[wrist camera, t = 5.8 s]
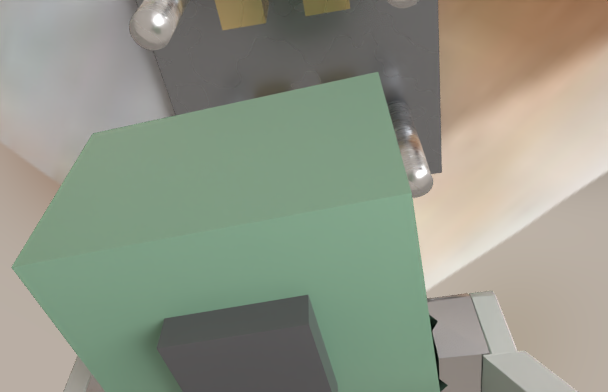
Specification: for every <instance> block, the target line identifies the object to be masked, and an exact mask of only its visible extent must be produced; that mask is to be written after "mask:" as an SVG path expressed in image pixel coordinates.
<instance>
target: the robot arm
mask: <svg viewBox="0 0 608 392" xmlns="http://www.w3.org/2000/svg"><path fill="white" fill-rule="evenodd" d="M427 303H428V310H429V317H430V324H431V331H432V338H433V345H434V352H435V359H436V366H437V373H438V380H439V387H440V392H578V391H577V390H575V389H574V388H573V387H571V386H570V385H569V384H568V383H566V382H565V381H564V380H562V379H561V378H560V377H558V376H557V375H556V374H555V373H553V372H552V371H551V370H549V369H548V368H547V367H545V366H544V365H543V364H542V363H540V362H539V361H537V360H536V359H535V358H534V357H532V356H531V355H530V354H528V353H527V352H526V351H517V348H516V346H515V343H514V340H513V338H512V336H511V333H510V330H509V328H508V325H507V323H506V320H505V317H504V315H503V312H502V310H501V307H500V305H499V302H498V299H497V297H496V294H495V293H494V292H493V291H485V292H477V293H469V294H467V293H466V294H458V295H451V296H443V297H435V298H427ZM64 392H105V391H104V389H103V388H102V387H101V385H100V384H99V383H98V382H97V380H96V379H95V378H94V376H93V375H92V374H91V372H90V371H89V370H88V368H87V367H86V366H85V364H84V363H83V362H82V360H81V359H80V358H79V356H77V359H76V361H75V364H74V366H73V369H72V371H71V374H70V376H69V379H68V382H67V384H66V387H65V389H64Z"/></svg>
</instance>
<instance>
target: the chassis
mask: <svg viewBox="0 0 608 392" xmlns="http://www.w3.org/2000/svg"><path fill="white" fill-rule="evenodd" d="M136 3H137V5H138V10H137V11H136V12H135V14H134V15H133V17H132V18H131V20H130V24H129V30H130V34H131V36H132V38H133V39H134V41H135V42H136V43H137V44H138V45H139V46H141V47H143V48H145V49H148V50H153V51H154V54H155V57H156V60H157V63H158V66H159V68H160V71H161V74H162V77H163V80H164V83H165V86H166V88H167V91H168V94H169V97H170V100H171V103H172V106H173V108H174V111H175V114H176V115H180V114H185V113H190V112H194V111H199V110H204V109H208V108H213V107H217V106H222V105H227V104H231V103H236V102H241V101H245V100H250V99H254V98H259V97H264V96H268V95H273V94H278V93H282V92H287V91H291V90H296V89H301V88H305V87H310V86H314V85H319V84H324V83H328V82H333V81H338V80H342V79H347V78H351V77H356V76H361V75H365V74H370V73H375V72H378V73H379V77H380V80H381V84H382V88H383V91H384V95H385V98H386V102H387V106H388V109H389V113H390V117H391V120H392V124H393V127H394V131H395V135H396V138H397V142H398V145H399V149H400V153H401V156H402V160H403V164H404V167H405V171H406V174H407V178H408V182H409V185H410V189H411V192H412V197H420V196H423V195H425V194H426V193H428V192H429V191H430V189H431V188H432V185H433V179H432V176H431V174H434V173H441V172H442V165H441V119H440V74H439V28H438V0H136Z"/></svg>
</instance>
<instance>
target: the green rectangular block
mask: <svg viewBox="0 0 608 392" xmlns="http://www.w3.org/2000/svg"><path fill="white" fill-rule="evenodd" d="M12 269H13V270H14V271H15V273H16V274H17V275H18V277H19V278H20V279H21V281H22V282H23V283H24V285H25V286H26V287H27V289H28V290H29V291H30V293H31V294H32V295H33V297H34V298H35V299H36V301H37V302H38V303H39V305H40V306H41V307H42V308H43V310H44V311H45V313H46V314H47V315H48V316H49V318H50V319H51V320H52V322H53V323H54V324H55V326H56V327H57V328H58V330H59V331H60V332H61V334H62V335H63V336H64V338H65V339H66V340H67V342H68V343H69V344H70V346H71V347H72V348H73V350H74V351H75V352H76V354H77V355H78V356H79V358H80V359H81V360H82V362H83V363H84V364H85V366H86V367H87V368H88V370H89V371H90V372H91V374H92V375H93V376H94V378H95V379H96V380H97V382H98V383H99V384H100V385H101V387H102V388H103V389H104V391H105V392H440V387H439V380H438V373H437V366H436V359H435V352H434V345H433V338H432V331H431V324H430V317H429V310H428V303H427V297H426V290H425V283H424V276H423V269H422V262H421V255H420V248H419V241H418V234H417V227H416V220H415V213H414V206H413V199H412V192H411V189H410V185H409V182H408V178H407V174H406V171H405V167H404V164H403V160H402V156H401V153H400V149H399V145H398V142H397V138H396V135H395V131H394V127H393V124H392V120H391V117H390V113H389V109H388V106H387V102H386V98H385V95H384V91H383V88H382V84H381V80H380V77H379V73H378V72H375V73H370V74H365V75H361V76H356V77H351V78H347V79H342V80H338V81H333V82H328V83H324V84H319V85H314V86H310V87H305V88H301V89H296V90H291V91H287V92H282V93H278V94H273V95H268V96H264V97H259V98H254V99H250V100H245V101H241V102H236V103H231V104H227V105H222V106H217V107H213V108H208V109H204V110H199V111H194V112H190V113H185V114H180V115H176V116H171V117H167V118H162V119H157V120H153V121H148V122H144V123H139V124H134V125H130V126H125V127H120V128H116V129H111V130H107V131H102V132H97V133H93V134H92V135H91V137H90V139H89V140H88V142H87V144H86V145H85V147H84V149H83V150H82V152H81V154H80V155H79V157H78V159H77V160H76V162H75V163H74V165H73V167H72V168H71V170H70V172H69V173H68V175H67V177H66V178H65V180H64V182H63V183H62V185H61V187H60V188H59V190H58V191H57V193H56V195H55V196H54V198H53V200H52V201H51V203H50V205H49V206H48V208H47V210H46V211H45V213H44V215H43V216H42V218H41V219H40V221H39V223H38V224H37V226H36V228H35V229H34V231H33V233H32V234H31V236H30V238H29V239H28V241H27V242H26V244H25V246H24V248H23V249H22V251H21V252H20V254H19V256H18V258H17V259H16V261H15V262H14V264H13V266H12Z"/></svg>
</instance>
